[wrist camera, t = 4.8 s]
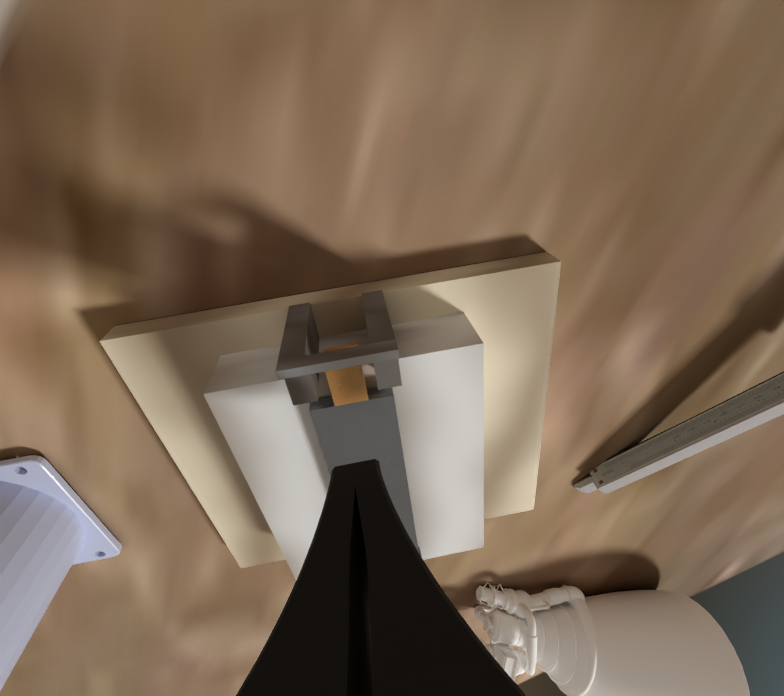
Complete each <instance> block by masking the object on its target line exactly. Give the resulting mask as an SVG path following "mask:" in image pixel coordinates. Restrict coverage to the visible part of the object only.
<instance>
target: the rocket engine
mask: <svg viewBox="0 0 784 696" xmlns="http://www.w3.org/2000/svg"><path fill="white" fill-rule="evenodd" d="M487 583H488V582H487ZM487 583H486V584H487ZM486 584H485V586H486ZM489 584H490V583H489ZM485 586H481V585H480V586H479V587H478V588H477V590H476V599H477V600H479V602H480V603H482V602H481V601H485V602H487V604H488V605H487V606H490V607H491V608H490V609H489V610H488V609H484V608H483V607H482V606H476V607H475V609H474V614H475V616H476V617H478V619H479V620H481V621H483V626H484V629H485V630H486V631H487V634H488V636H489V637H490V644H487V642H486V640H485V638H484V639H481V640H483V641H484V640H485V644H486V646H485V647H486V649H487V650H488V651H489V652H490V654H491V655H492V656H493V657H494V658H495V660H496V661H497V662H498V663H499V664H500V666H501V667H502V668H503V669H504V670H505V672H506V673H507V674H508V675H509V676H510V677H511V679H512V680H514V682H515V677H516V676H517V675H519V674H522V673H524V672H525V671H526V673H527V674H528V675H533V674H534V672H535V664H537V665H538V667H539V668H540V669H541V670H542V671H544V672H546V673H547V674H548V675H549V677H550V678H551V679H552V680H553V681H554V682H555V683H556V684H557V686H558V687H559V689H560V690H561V691H562V692H563V693H565V694H566V695H568V696H750V692H749V687H748V684H747V680H746V677H745V674H744V671H743V668H742V665H741V663H740V661H739V658H738V656H737V654H736V652H735V650H734V648H733V646H732V644H731V643H730V641H729V639H728V638H727V636H726V634H725V633H724V631H723V630H722V628H721V627H720V626H719V625H718V623H717V622H716V621H715V620H714V618H713V617H712V616H711V615H710V614H709V613H708V612H707V611H706V610H705V609H704V608H703V607H701V606H700V605H699V604H698V603H696V602H695V601H693V600H692V599H690V598H689V597H687V596H685V595H682V594H680V593H677V592H674V591H664V590H632V591H621V592H613V593H606V594H600V595H594V596H589V597H585V596H584V594H583V593H582V591H581V590H580V589H578V588H576V587H574V586H566V585H563V586H562V587H559V588H550V589H546V590H544V591H543V592H542V593H537V594H532V595H529V594H528V593H526V592H525V591H524V590H516V591H514V590H513V589H507V588H505V589H503V588H501V591H502V592H501V591H498V590H497V589H498V588H499V586H500V587H502V586H501V584H499V585H497V586H498V588H497V589H495V587H496V586H493V585H489V587H490V588H487V587H485ZM483 604H484V603H483ZM485 605H486V604H485ZM499 605H500V606H501V608H500V606H499ZM542 605H545V606H542ZM498 606H499V607H498ZM495 608H500V609H504V610H506V612H507V613H505V612H500V611H498V610H497V609H495ZM493 609H495V610H493ZM492 610H493V611H492ZM536 610H538V611H537V612H533V611H536ZM485 611H491V612H489V613H488V614H486V612H485ZM511 614H515V615H516V616H518V617H515V616H513V615H511ZM481 640H480V641H481ZM483 641H482V643H483ZM493 642H499V643H497V644H493ZM509 645H516V646H519V648H520V649H522V650H524V651H525V652H526V657H525V655H524V653H523V652H522V651H520V650H519V649H518V648H517V647H513V648H510V647H509Z"/></svg>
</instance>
